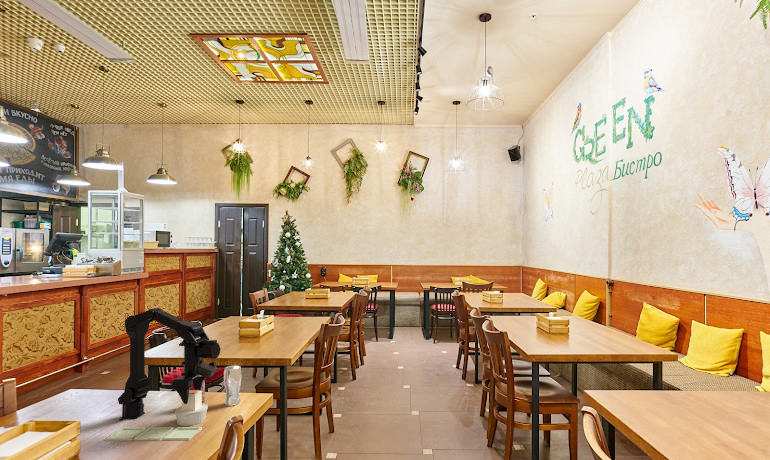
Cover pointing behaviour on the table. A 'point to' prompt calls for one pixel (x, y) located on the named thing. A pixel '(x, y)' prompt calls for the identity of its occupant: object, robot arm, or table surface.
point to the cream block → (193, 400)
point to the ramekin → (191, 415)
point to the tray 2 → (154, 433)
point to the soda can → (201, 390)
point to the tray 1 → (126, 434)
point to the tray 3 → (182, 433)
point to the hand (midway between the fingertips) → (191, 399)
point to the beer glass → (232, 384)
